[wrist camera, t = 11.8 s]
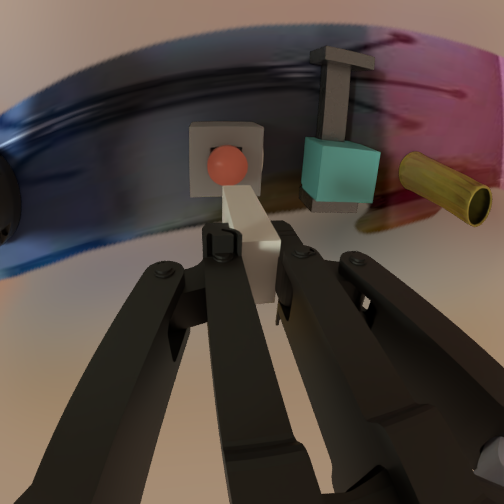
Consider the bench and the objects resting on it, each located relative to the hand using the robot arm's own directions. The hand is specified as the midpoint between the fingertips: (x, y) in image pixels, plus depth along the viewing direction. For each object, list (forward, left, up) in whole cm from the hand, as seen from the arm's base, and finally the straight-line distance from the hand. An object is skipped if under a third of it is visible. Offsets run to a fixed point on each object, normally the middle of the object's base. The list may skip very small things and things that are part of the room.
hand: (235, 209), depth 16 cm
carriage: (+13, -1, -20) cm, 24 cm away
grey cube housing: (0, 0, -20) cm, 20 cm away
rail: (+13, +3, -20) cm, 24 cm away
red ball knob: (0, 0, -16) cm, 16 cm away
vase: (+28, -1, -20) cm, 35 cm away
